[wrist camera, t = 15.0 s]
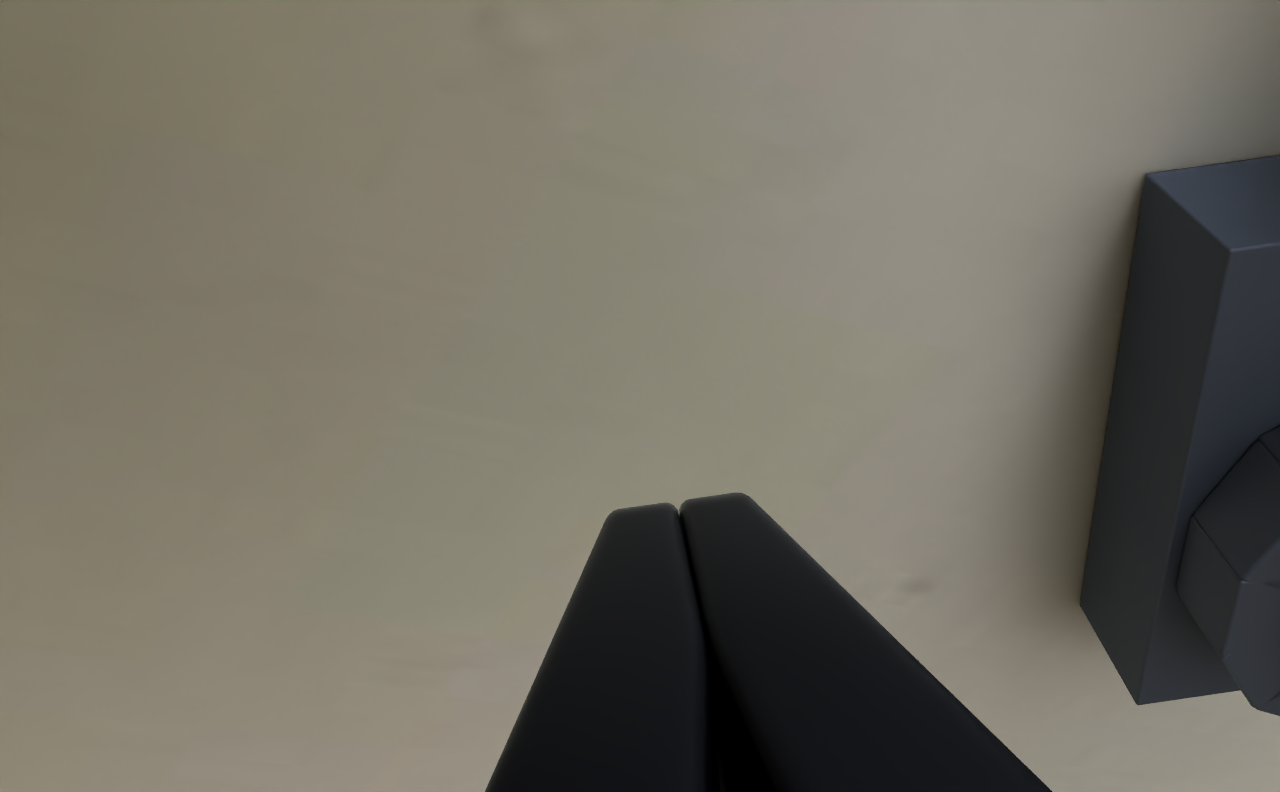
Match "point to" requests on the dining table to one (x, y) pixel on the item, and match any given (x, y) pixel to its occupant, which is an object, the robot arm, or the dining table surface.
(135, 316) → the dining table surface
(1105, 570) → the console
